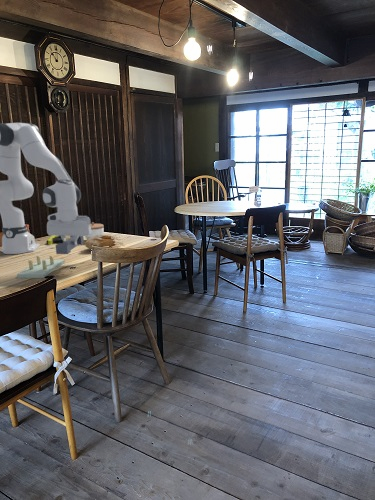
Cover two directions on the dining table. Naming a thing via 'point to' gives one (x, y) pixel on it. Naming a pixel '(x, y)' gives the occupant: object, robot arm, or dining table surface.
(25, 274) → the rack
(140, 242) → the dining table surface
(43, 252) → the dining table surface
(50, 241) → the stun gun
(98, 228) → the lidded bowl
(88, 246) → the nautilus
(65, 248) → the grey long bar
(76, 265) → the dining table surface
